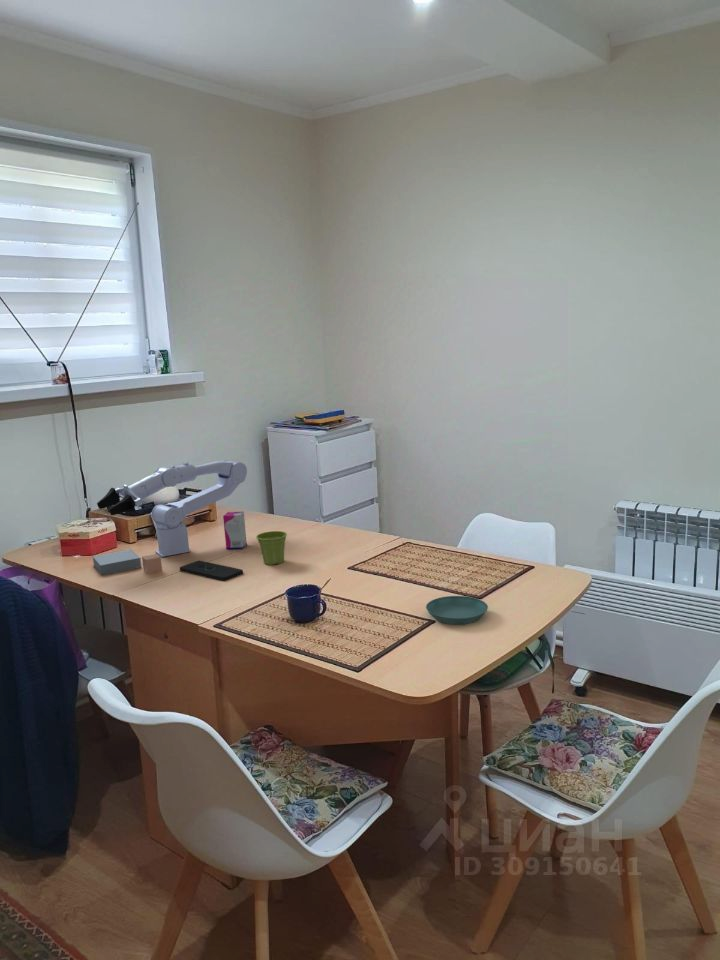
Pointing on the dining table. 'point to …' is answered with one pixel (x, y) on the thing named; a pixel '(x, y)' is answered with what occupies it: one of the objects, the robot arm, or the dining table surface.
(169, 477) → the robot arm
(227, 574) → the smart home device
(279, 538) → the plant pot
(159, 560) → the pale pink cube
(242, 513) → the supplement box
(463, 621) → the saucer
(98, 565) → the base board
